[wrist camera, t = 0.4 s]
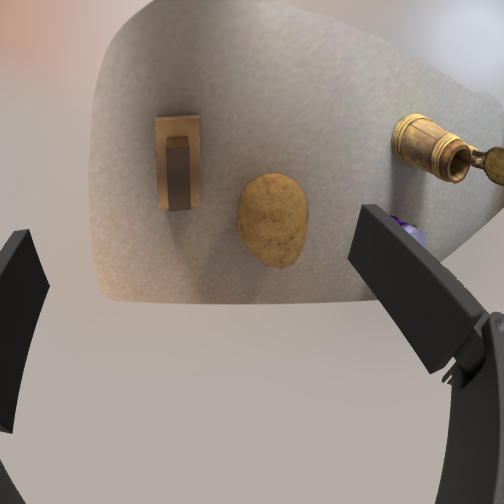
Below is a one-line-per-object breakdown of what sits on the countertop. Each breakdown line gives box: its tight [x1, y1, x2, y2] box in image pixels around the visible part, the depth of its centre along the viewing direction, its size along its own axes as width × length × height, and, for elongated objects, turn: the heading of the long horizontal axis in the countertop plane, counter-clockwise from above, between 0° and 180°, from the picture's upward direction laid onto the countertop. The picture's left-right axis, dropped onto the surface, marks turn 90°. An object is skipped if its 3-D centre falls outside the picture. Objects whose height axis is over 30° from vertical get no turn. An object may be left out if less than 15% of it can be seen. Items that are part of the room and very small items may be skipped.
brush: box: [154, 114, 200, 211], centre depth 32 cm, size 11×5×8 cm, turn 177°
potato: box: [237, 173, 308, 269], centre depth 39 cm, size 10×14×8 cm
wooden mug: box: [392, 113, 504, 186], centre depth 34 cm, size 9×14×18 cm, turn 106°
